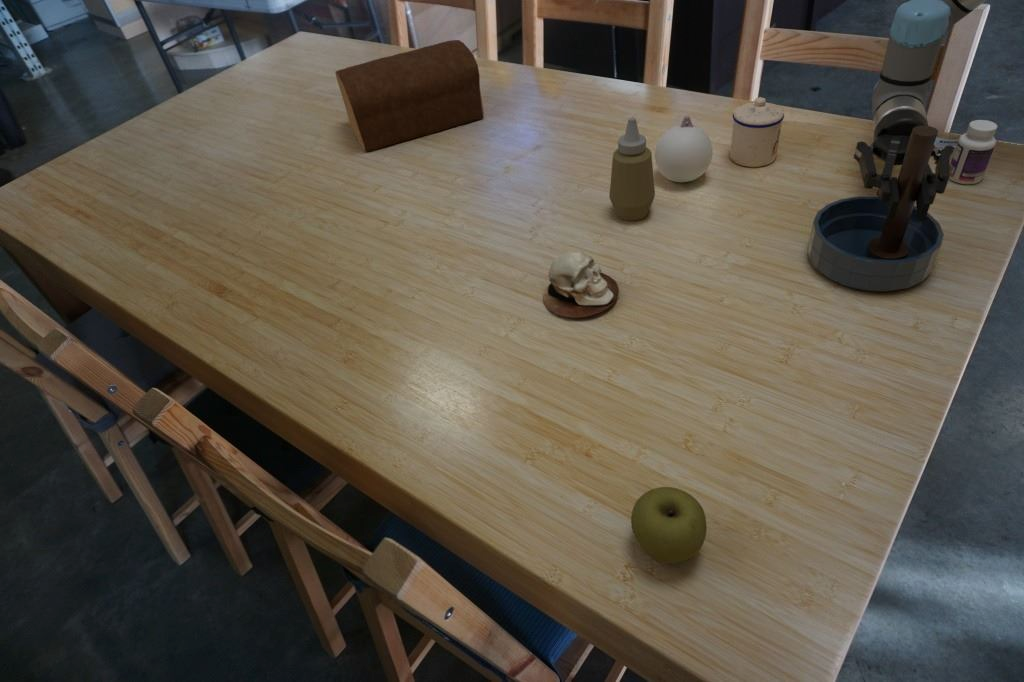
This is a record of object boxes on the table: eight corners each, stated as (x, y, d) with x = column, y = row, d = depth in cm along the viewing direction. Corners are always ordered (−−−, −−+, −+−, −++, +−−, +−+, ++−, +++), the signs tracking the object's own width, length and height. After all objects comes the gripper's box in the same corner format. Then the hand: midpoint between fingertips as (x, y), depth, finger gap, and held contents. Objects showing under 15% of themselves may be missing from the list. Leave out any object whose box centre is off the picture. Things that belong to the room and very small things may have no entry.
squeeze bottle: (608, 202, 125) (605, 110, 113) (651, 198, 125) (654, 105, 112) (611, 227, 120) (609, 132, 107) (657, 223, 119) (660, 127, 107)
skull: (638, 280, 106) (612, 264, 97) (608, 338, 107) (580, 328, 99) (579, 253, 112) (549, 236, 104) (551, 308, 114) (520, 296, 105)
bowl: (958, 269, 100) (971, 236, 96) (865, 309, 97) (875, 277, 93) (868, 216, 113) (877, 185, 108) (783, 250, 109) (789, 219, 105)
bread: (350, 126, 165) (330, 60, 154) (463, 94, 170) (452, 28, 160) (365, 156, 152) (344, 86, 141) (487, 120, 158) (477, 51, 147)
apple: (680, 591, 70) (683, 556, 65) (616, 548, 74) (615, 512, 70) (717, 539, 74) (723, 503, 69) (654, 501, 78) (656, 464, 73)
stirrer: (916, 256, 101) (959, 132, 87) (886, 269, 100) (926, 144, 86) (886, 238, 105) (924, 117, 91) (858, 250, 103) (891, 128, 90)
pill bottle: (988, 176, 116) (1009, 124, 110) (970, 188, 115) (990, 135, 108) (957, 166, 120) (976, 114, 113) (939, 177, 118) (957, 125, 112)
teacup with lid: (782, 166, 127) (792, 107, 119) (733, 170, 128) (739, 112, 120) (767, 136, 136) (776, 80, 128) (721, 141, 137) (727, 85, 129)
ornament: (692, 159, 133) (696, 101, 125) (720, 182, 126) (726, 122, 118) (645, 173, 132) (646, 115, 123) (670, 197, 124) (673, 137, 116)
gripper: (950, 155, 106) (967, 239, 91) (840, 149, 112) (838, 229, 96) (966, 109, 101) (987, 191, 86) (849, 106, 107) (849, 183, 91)
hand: (908, 211), depth 91 cm, fingers closed on stirrer, 3 cm apart
